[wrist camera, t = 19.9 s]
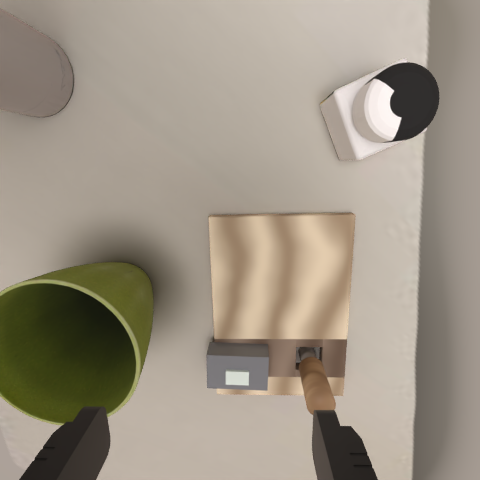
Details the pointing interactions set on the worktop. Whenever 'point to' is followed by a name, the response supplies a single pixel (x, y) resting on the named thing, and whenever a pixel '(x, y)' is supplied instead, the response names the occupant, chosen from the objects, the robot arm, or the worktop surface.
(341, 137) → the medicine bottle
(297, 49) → the worktop surface
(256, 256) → the subfloor panel
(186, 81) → the worktop surface
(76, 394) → the flower pot
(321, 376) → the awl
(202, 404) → the worktop surface
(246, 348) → the block
